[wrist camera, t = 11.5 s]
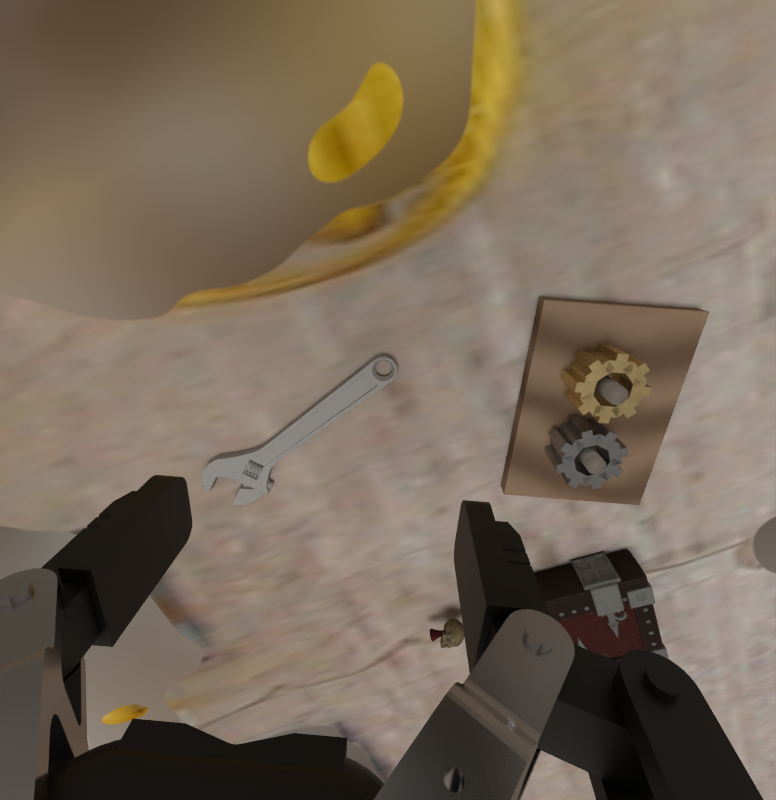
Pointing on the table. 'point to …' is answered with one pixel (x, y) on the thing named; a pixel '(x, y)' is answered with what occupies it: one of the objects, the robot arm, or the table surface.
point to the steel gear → (574, 439)
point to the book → (594, 606)
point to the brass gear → (593, 369)
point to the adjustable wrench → (294, 434)
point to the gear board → (553, 406)
